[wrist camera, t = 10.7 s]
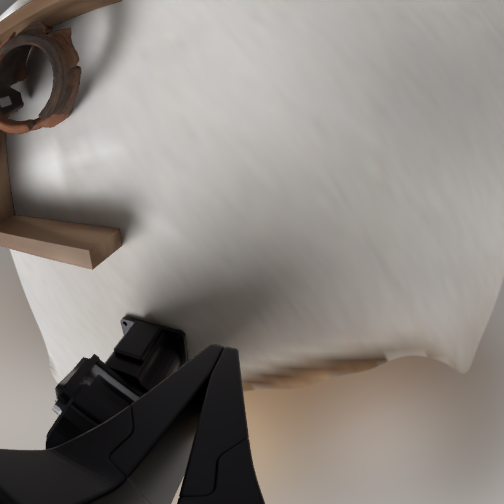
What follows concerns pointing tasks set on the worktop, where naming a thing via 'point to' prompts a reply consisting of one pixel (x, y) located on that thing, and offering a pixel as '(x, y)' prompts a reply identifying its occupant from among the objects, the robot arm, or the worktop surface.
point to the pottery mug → (14, 70)
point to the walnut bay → (3, 216)
